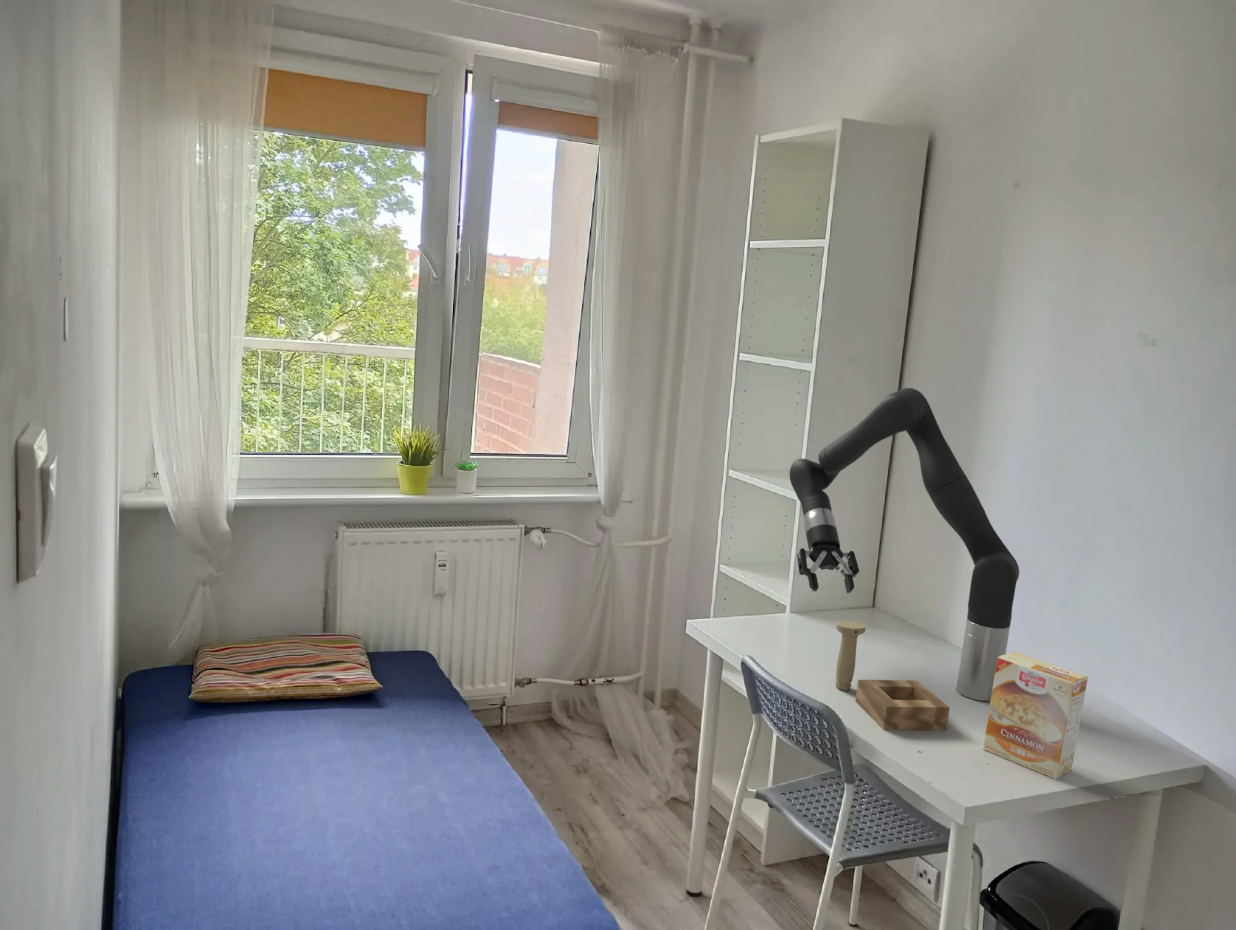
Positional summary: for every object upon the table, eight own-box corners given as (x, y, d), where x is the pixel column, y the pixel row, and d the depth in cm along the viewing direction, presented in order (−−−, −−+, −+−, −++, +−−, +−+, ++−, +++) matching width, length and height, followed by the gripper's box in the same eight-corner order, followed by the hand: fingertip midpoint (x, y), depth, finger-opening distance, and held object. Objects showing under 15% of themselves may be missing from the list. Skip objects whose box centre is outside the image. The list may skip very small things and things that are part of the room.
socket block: (914, 701, 213) (917, 680, 212) (946, 730, 199) (949, 707, 199) (855, 701, 210) (858, 679, 210) (883, 729, 197) (886, 706, 196)
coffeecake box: (981, 749, 192) (996, 656, 188) (998, 740, 196) (1013, 649, 193) (1056, 780, 181) (1073, 682, 178) (1072, 770, 186) (1089, 675, 182)
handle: (860, 692, 216) (869, 628, 213) (834, 693, 214) (843, 628, 212) (850, 683, 220) (858, 621, 218) (825, 684, 219) (833, 621, 216)
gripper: (798, 521, 230) (809, 582, 221) (854, 524, 233) (867, 584, 224) (788, 537, 236) (798, 596, 227) (842, 540, 239) (855, 599, 230)
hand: (833, 590), depth 225 cm, fingers open, 8 cm apart
